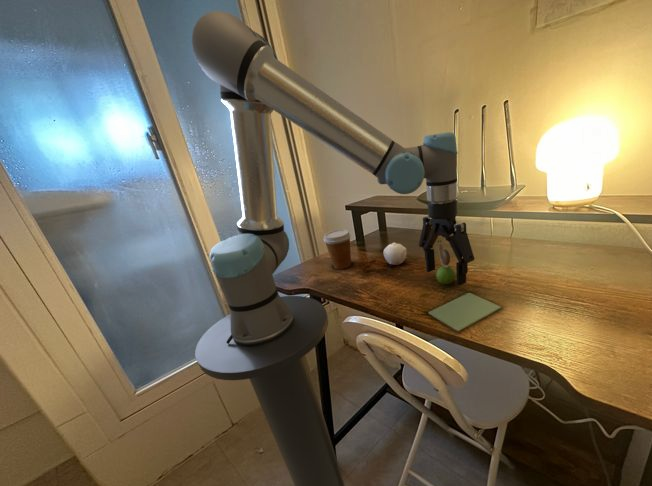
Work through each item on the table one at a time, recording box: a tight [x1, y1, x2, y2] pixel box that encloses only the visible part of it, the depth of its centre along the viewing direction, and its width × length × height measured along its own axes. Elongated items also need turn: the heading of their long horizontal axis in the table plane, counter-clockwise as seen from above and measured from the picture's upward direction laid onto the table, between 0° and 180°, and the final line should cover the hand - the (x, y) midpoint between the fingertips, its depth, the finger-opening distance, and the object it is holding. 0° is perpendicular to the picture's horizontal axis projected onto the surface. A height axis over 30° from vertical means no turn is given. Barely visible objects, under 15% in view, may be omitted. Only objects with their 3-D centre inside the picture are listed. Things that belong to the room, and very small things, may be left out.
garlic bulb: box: [382, 242, 408, 266], centre depth 102 cm, size 8×8×8 cm
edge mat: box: [427, 292, 502, 333], centre depth 73 cm, size 14×10×1 cm
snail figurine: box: [435, 239, 457, 285], centre depth 84 cm, size 5×6×12 cm
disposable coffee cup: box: [323, 229, 352, 270], centre depth 106 cm, size 10×10×12 cm
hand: (445, 276), depth 86 cm, fingers open, 12 cm apart
